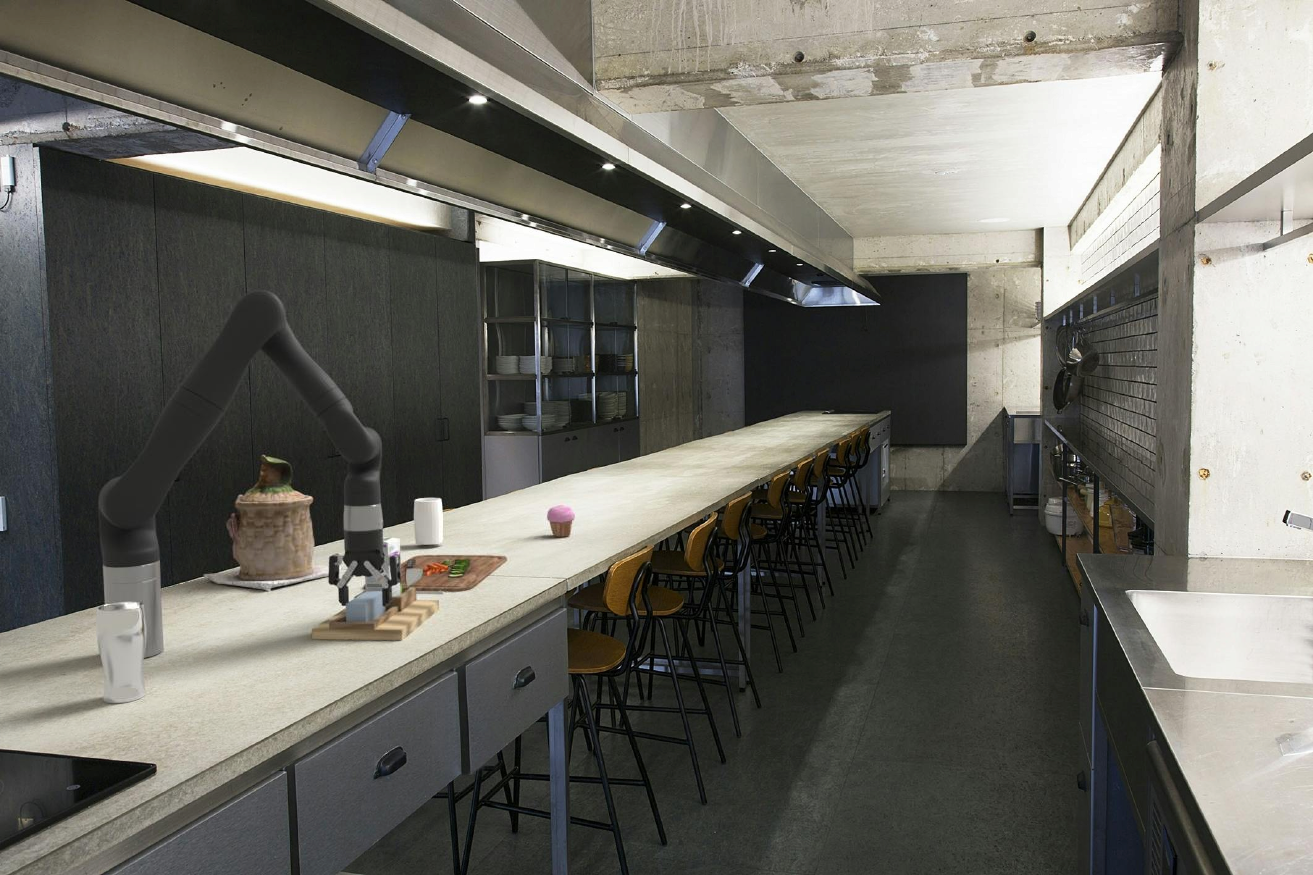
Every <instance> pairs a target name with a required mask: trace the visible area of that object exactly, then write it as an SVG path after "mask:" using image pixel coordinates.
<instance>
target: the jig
mask: <svg viewBox="0 0 1313 875" xmlns="http://www.w3.org/2000/svg"><path fill="white" fill-rule="evenodd" d="M364 592H366V590H365V589H364V591H362V592H360V593H359V594H357V595H356V596H353V599H354V598H356V597H358V596H359V595H361V594H363V593H364ZM439 610H440V602H439V600H437V599H435V600H432V599H431V600H430V599H429V600H428V599H425V600H424V599H422V600H421V599H417V594H416V587H402V594H400V595H399V596H392V601H391V603H389V605H388V606H387V607H386V612H385V613H383V614H382V615H380V616H379V617H378V618H376V619H375V620H373V621H372V622H346V607H345V608H343V609H342V610H340V611H339V612H337V613H336V614H334V615H332V616H330V617H329V618H328V619H326V620H324V621H323V622H320V623H319V624H318V625H316V626H314V627H313V628H311V637H312V640H349V639H350V640H351V639H352V641H353V640H354V639H355V640H357V641H359V640H361V641H363V640H365V641H366V640H368V641H369V640H370V641H371V640H372V641H373V640H374V641H403V640H404V639H405V638H406V637H408V636H409V635H410V634H411V633H412V632H414V631H415V630H416V629H417V628H418V627H420V626H421V625H422V624H423V623H424V622H426V621H427V620H429V618H431V616H433V615H434V614H436V613H437V612H438V611H439ZM413 630H414V631H413ZM407 635H408V636H407Z"/></svg>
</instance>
